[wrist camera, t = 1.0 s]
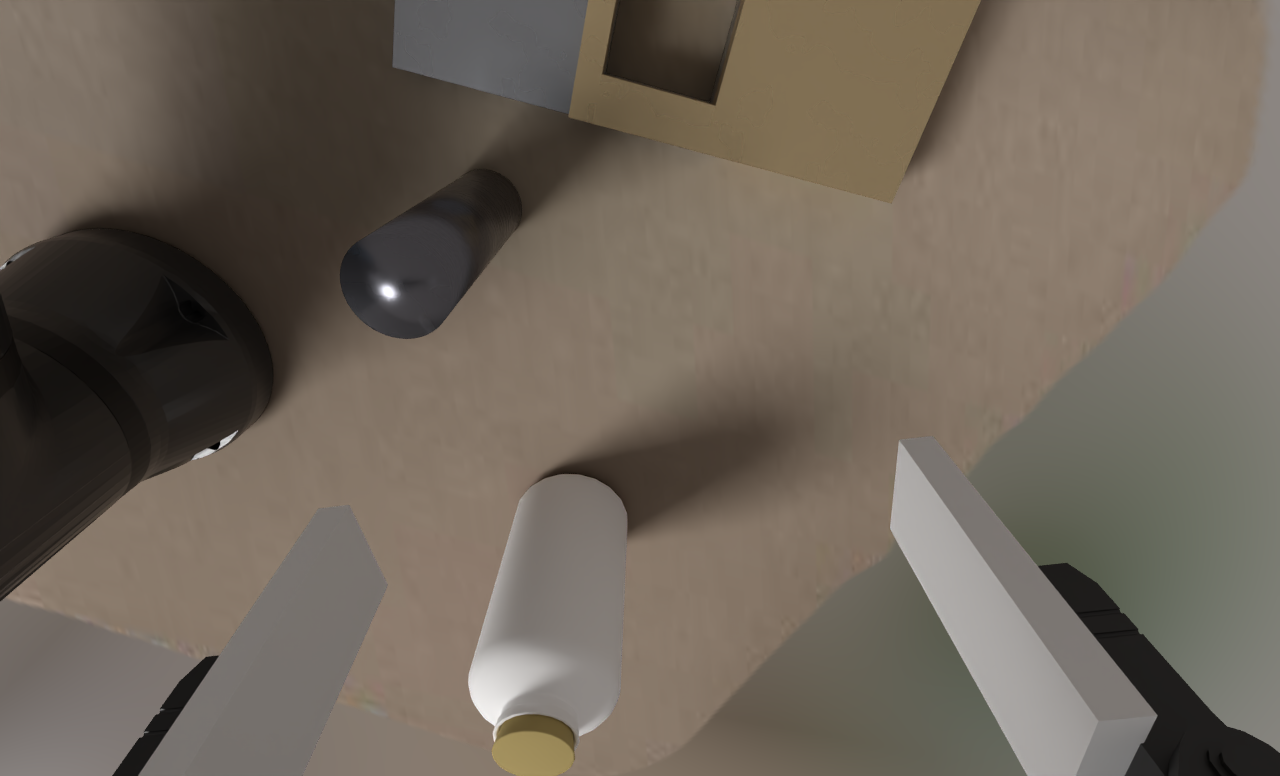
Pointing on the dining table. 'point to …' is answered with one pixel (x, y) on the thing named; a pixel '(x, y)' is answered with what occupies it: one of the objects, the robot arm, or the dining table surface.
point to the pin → (429, 255)
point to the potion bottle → (554, 625)
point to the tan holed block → (718, 77)
